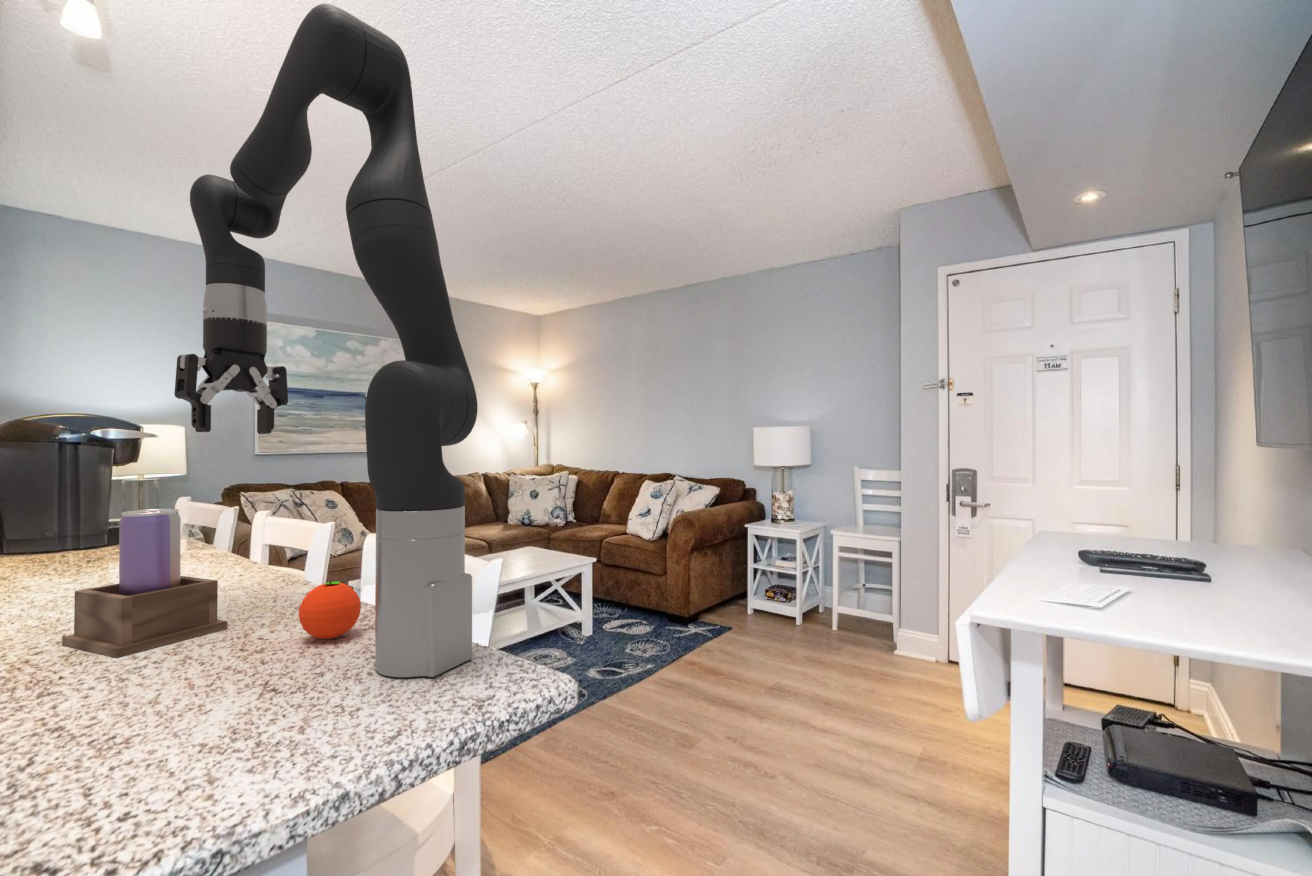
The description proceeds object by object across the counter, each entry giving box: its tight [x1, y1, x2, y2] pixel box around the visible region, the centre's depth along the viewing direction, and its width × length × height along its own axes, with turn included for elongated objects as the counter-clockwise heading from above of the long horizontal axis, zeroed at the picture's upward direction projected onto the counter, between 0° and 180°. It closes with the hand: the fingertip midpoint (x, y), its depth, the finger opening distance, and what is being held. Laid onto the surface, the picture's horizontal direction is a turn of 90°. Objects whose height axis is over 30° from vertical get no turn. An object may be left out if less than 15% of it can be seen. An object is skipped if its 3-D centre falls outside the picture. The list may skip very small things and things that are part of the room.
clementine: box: [298, 580, 362, 640], centre depth 75 cm, size 8×7×7 cm
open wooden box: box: [61, 575, 228, 659], centre depth 76 cm, size 12×12×6 cm
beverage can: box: [118, 508, 182, 596], centre depth 76 cm, size 6×6×15 cm
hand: (235, 433), depth 85 cm, fingers open, 8 cm apart
